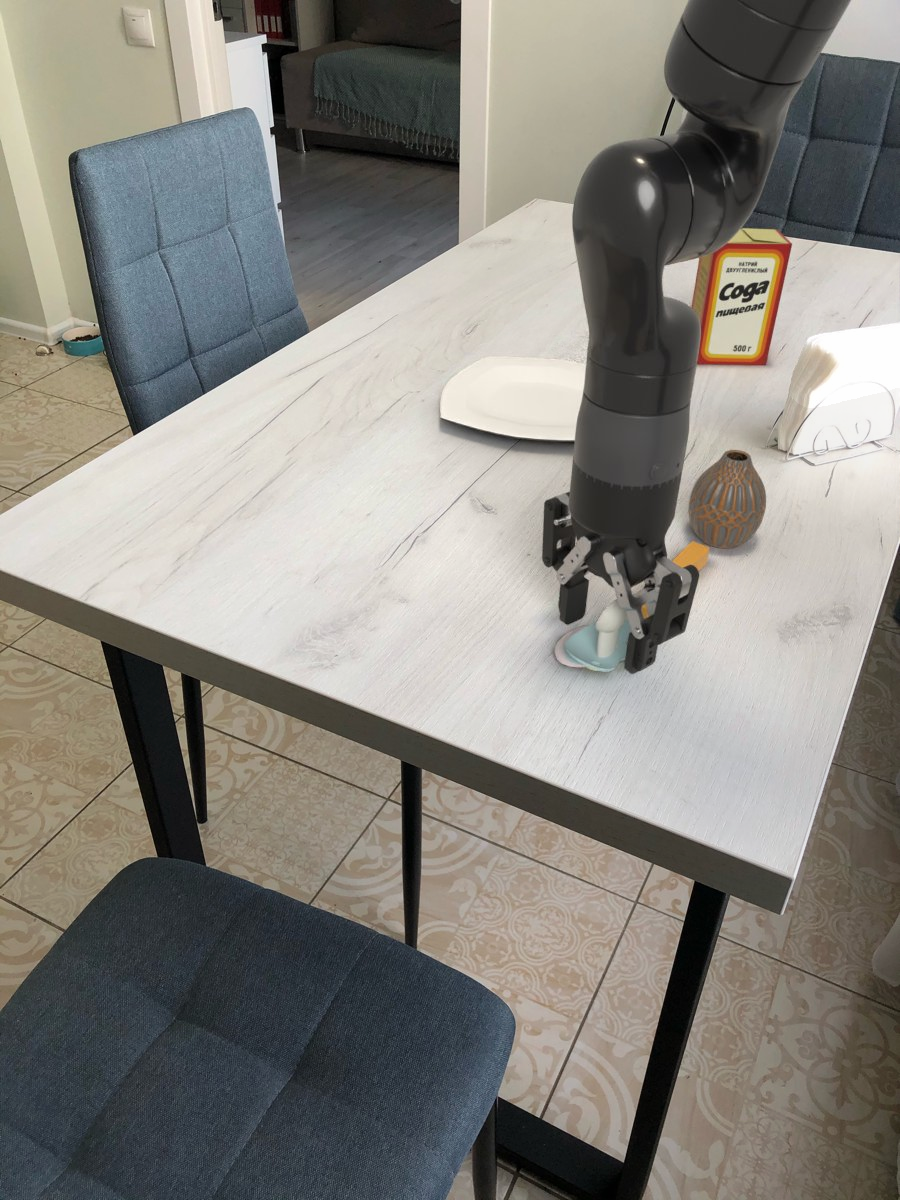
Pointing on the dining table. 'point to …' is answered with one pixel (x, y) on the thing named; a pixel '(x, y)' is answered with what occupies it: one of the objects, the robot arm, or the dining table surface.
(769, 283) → the baking soda box
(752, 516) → the vase
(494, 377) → the plate
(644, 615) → the wooden stick
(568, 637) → the pacifier
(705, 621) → the dining table surface
